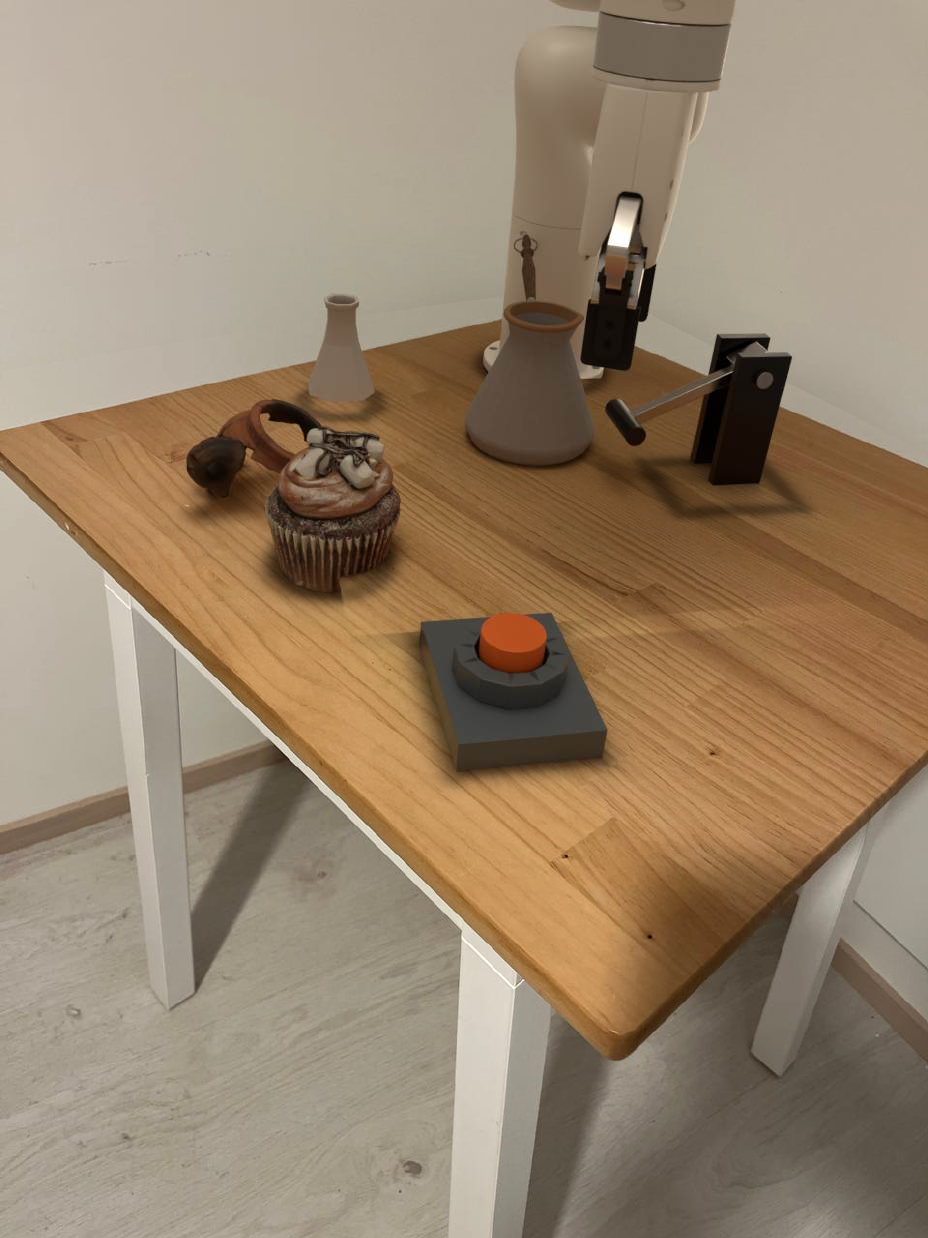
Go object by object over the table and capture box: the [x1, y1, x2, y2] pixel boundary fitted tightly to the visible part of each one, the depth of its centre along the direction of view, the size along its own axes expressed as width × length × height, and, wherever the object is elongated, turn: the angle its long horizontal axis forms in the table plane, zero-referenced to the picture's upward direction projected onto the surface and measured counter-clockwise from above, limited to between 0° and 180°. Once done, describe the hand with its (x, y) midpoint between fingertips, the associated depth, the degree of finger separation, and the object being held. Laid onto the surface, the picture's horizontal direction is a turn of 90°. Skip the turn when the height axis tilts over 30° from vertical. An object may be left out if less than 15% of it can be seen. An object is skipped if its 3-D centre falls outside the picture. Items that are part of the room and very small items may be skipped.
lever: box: [604, 342, 769, 447], centre depth 88 cm, size 13×6×2 cm, turn 102°
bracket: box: [690, 332, 793, 486], centre depth 90 cm, size 11×9×13 cm
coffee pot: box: [464, 234, 595, 467], centre depth 96 cm, size 21×12×15 cm, turn 3°
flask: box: [307, 293, 376, 403], centre depth 99 cm, size 7×7×10 cm
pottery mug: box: [185, 398, 323, 500], centre depth 85 cm, size 12×10×8 cm
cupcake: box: [263, 425, 402, 593], centre depth 77 cm, size 10×10×10 cm
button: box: [479, 612, 547, 674], centre depth 65 cm, size 4×4×2 cm
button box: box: [418, 612, 608, 772], centre depth 67 cm, size 12×9×4 cm
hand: (615, 340), depth 72 cm, fingers open, 9 cm apart
